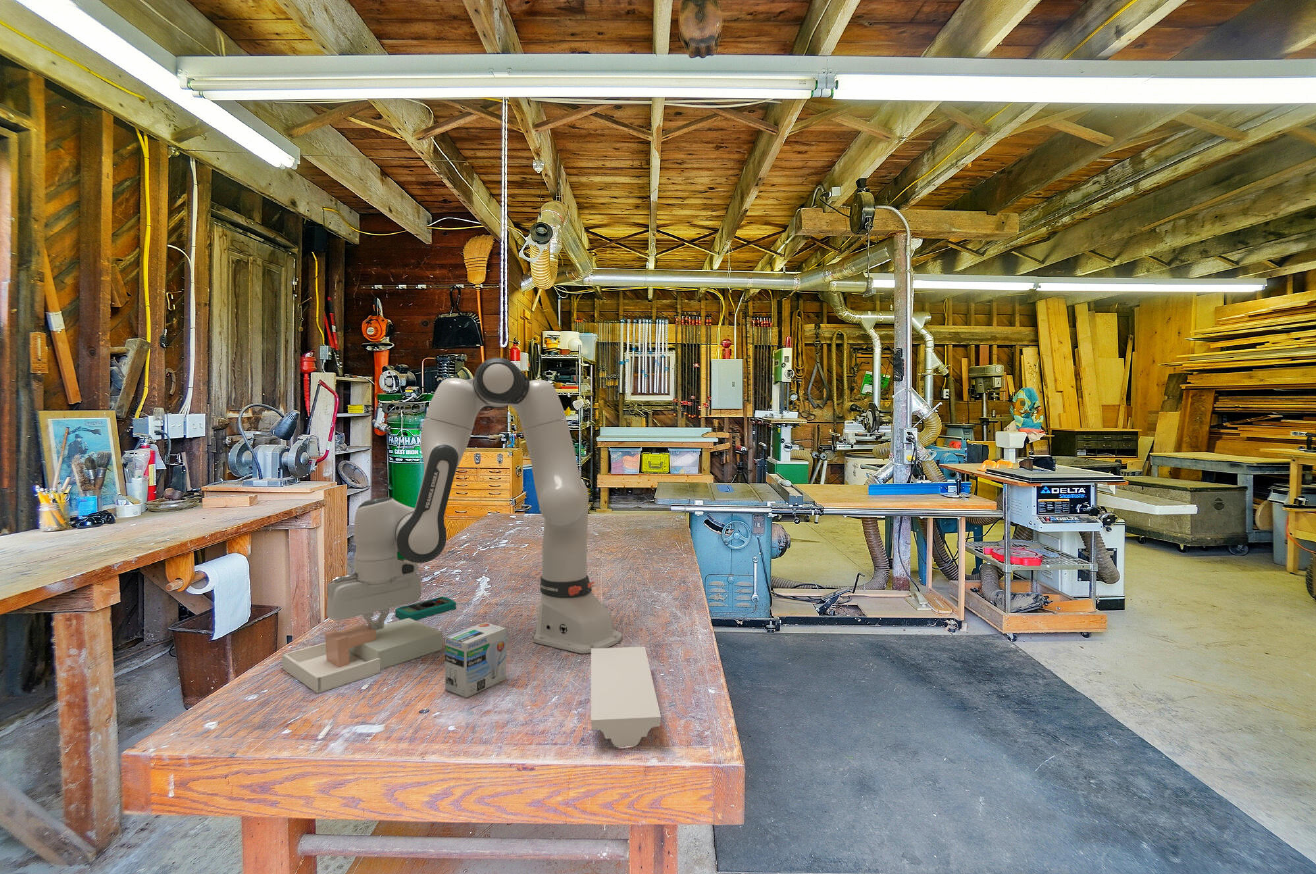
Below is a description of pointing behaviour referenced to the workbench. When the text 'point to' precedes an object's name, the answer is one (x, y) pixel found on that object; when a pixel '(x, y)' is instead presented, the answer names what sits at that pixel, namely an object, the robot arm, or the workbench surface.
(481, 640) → the light bulb box
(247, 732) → the workbench surface
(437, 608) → the digital multimeter
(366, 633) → the tile
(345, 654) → the tile
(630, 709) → the beige molded block
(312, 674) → the tray
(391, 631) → the board
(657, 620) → the workbench surface
